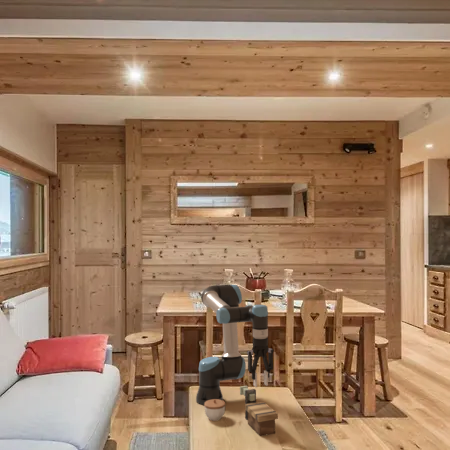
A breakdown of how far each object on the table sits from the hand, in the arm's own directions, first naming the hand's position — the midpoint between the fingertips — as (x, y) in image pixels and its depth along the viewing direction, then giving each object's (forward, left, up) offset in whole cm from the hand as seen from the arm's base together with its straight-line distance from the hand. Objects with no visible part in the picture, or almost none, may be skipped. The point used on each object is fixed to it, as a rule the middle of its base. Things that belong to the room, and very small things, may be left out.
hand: (260, 385), depth 212 cm
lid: (0, 0, -14) cm, 14 cm away
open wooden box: (0, 0, -21) cm, 21 cm away
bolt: (-16, 0, -11) cm, 19 cm away
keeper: (-13, 0, -21) cm, 24 cm away
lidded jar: (-20, -17, -21) cm, 33 cm away
